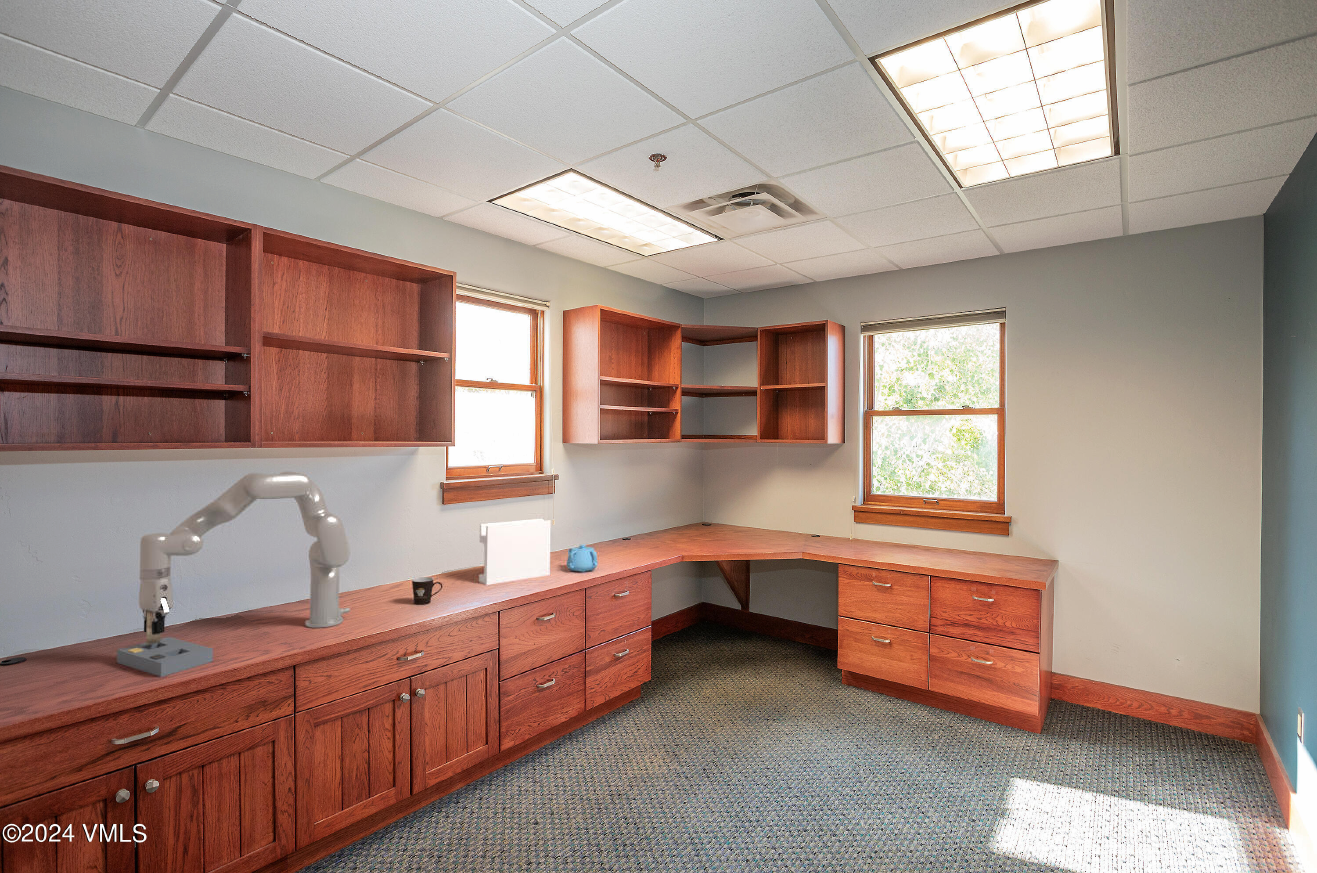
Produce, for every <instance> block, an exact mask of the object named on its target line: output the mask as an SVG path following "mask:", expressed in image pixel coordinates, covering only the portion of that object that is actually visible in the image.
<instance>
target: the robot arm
mask: <svg viewBox="0 0 1317 873" xmlns="http://www.w3.org/2000/svg"><path fill="white" fill-rule="evenodd" d="M318 486H319V485H317V484H316V483H315V482H314V481H313V480H311V478H310V477H309V476H308V475H306V474H304V473H301V472H295V471H288V470H287V471H282V472H281V473H279V474H278V473H277V474H275V473H274V474H273V473H272V474H269V473H268V474H267V473H266V474H265V473H258V472H251V473H247V474H246V475H243V476H242V477H241V478H240V479H239V480H237V482H235V483H234V484H233V485H231V486H230V487H229V488H228V489H226V491H224V492H223V493H222V494H220V495H219V497H217V498H216V499H214V501H211V502H210V503H209V504H207V505H206V506H204V507H202V508H201V509H199V510H198V511H196V512H195V513H193V514H192V515H190V516H188V517H187V518H186V519H184V520H183V521H182V522H181V523H180V524H179V525H177V526H176V527H175V528H174V529H172V531H170V533H169V534H168V533H163V532H161V533H156V532H155V533H150V534H145V535H143V536H142V537H141V538H140V544H139V545H140V547H139V548H140V551H139V552H140V554H139V581H140V584H139V595H138V606H139V608H140V610H141V611H142V614H143V616H142V618H143V633H147V610H148V611H152V612H153V620H154V621H153V622H152V634H153V635H154V634H158V633H161V634H162V633H164V632H165V627H166V626H165V622H166V616H168V614H169V613H170V610H171V609H173V605H174V602H173V600H174V599H173V586H172V581H171V580H172V579H171V572H172V571H171V568H172V567H171V566H172V558H171V557H175V556H177V557H179V556H181V557H182V556H184V557H185V556H186V557H187V556H192V555H195V554H197V553H198V552H199V551H201V549H202V547H203V545H204V540H203V538H202V537H203V536H204V535H205V534H206V533H208V532H209V531H211V530H212V529H214V528H215V527H218V526H219V525H222V524H225V523H229V522H231V521H233V520H235V519H236V518H237V517H238V516H239V515H241V514H242V513H243V512H244V511H245V510H246V509H247V508H249V507H250V506H251V505H252V504H254V503H255V502H256V501H257V500H276V499H277V500H278V499H279V500H280V499H281V500H282V499H294V500H295V501H296V503H297V505H298V508H299V511H300V515H301V519H302V522H303V526H304V530H305V532H306V534H308V535H309V536H310V537H313V538H316V539H317V540H316V541H314V542H313V543H312V544H311V545H310V547H309V550H308V560H309V566H310V567H309V569H310V584H309V585H310V586H309V587H310V592H309V593H310V594H309V595H310V597H309V599H310V600H309V605H310V606H309V618H308V619H307V620H305V622H304V626H305V627H308V628H312V629H313V628H315V629H317V628H318V629H319V628H327V627H328V628H329V627H334V626H336V625H340V624H341V623H343V622H344V617H343V616H342V615H344V614H347V613H350V611H351V608H350V607H347V606H346V607H344V608H342V607H340V606H339V605H340V569H339V568H340V567H343V566H344V565H345V564H346V563H347V562H349V559H350V553H351V552H350V545H349V542H348V538H347V534H346V531H345V528H344V525H343V523H342V520H341V519H340V518H339V516H337V515H336V514H333V513H330V512H329V509H328V507H327V504H326V501H325V498H324V495H323V493H322V490H321V489H320V488H319V487H318ZM159 609H162V610H159ZM159 612H161V613H159ZM157 613H159V614H158V616H157Z"/></svg>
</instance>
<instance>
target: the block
mask: <svg viewBox="0 0 1317 873" xmlns="http://www.w3.org/2000/svg"><path fill="white" fill-rule="evenodd" d="M551 523H552V521H551V520H550V519H549V520H547V519H546V520H544V518H534V519H533V518H532V519H523V520H522V519H521V520H514V521H499V522H487V523H480V524H479V543H480V544H483V546H484V553H483V554H484V555H483V556H484V557H483V558H484V559H483V564H484V565H483V567H484V568H483V573H481V574H478V582H479V583H481V584H483V585H485V586H489V585H494V584H500V583H501V584H502V583H507V582H513V581H514V582H515V581H521V580H526V579H533V578H539V577H546V576H550V575H551V532H552V531H551V530H552V529H551V526H552V524H551Z"/></svg>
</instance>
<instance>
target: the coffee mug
mask: <svg viewBox="0 0 1317 873" xmlns="http://www.w3.org/2000/svg"><path fill="white" fill-rule="evenodd" d="M411 582H412V583H411V586H412V594H413V604H414V605H416V606H425V605H429V604H430V603H431V600H432V597H434V596H435V595H437V594H438V593H439V592H441V590H442V589H443V583H441V582H440V581H435V582H434V577H432V576H431V577H430V576H421V577H414V578H412V579H411ZM436 584H439V585H440V588H439V589H438V591H436V592H434V593H433V588H434V587H435V585H436ZM432 593H433V594H432Z"/></svg>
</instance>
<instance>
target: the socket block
mask: <svg viewBox="0 0 1317 873" xmlns="http://www.w3.org/2000/svg"><path fill="white" fill-rule="evenodd" d="M213 658H214V648H212V647H209V646H205V645H201V644H198V643H193V642H190V641H187V640H186V641H185V640H183V639H179V638H176V637H171V636H166V637H161V642H159V643H154V644H146V641H145V642H143V643H138V644H134V645H130V646H126V647H123V648H118V649H117V650H116V663H117V664H120V665H123V666H126V667H129V668H131V669H132V668H133V669H135V670H138V671H142V672H145V673H147V674H151V675H154V676H158V677H160V678H161V677H162V678H163V677H166V676H169V675H173V674H175V673H179V672H182V671H185V670H188V669H192V668H195V667H198V666H202V665H205V664H209V663H212V662H213V661H214V659H213Z"/></svg>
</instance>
